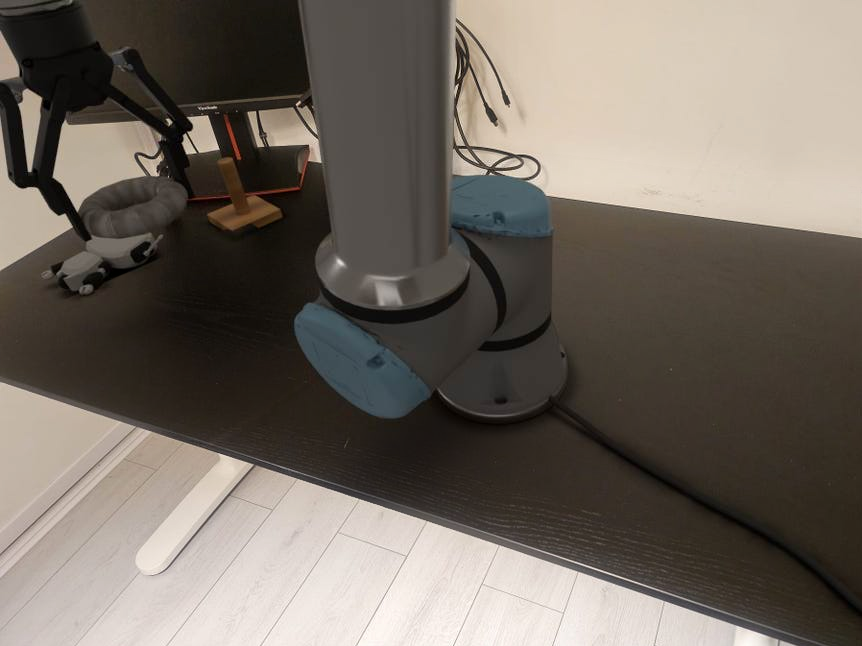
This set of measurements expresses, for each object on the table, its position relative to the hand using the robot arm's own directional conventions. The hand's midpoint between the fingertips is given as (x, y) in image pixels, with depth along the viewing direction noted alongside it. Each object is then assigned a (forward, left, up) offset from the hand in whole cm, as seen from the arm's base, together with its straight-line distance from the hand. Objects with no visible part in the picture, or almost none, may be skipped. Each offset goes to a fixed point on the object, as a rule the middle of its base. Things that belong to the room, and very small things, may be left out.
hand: (138, 215), depth 72 cm
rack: (+21, -20, -16) cm, 34 cm away
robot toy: (+23, +2, -17) cm, 29 cm away
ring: (0, 0, +1) cm, 1 cm away
